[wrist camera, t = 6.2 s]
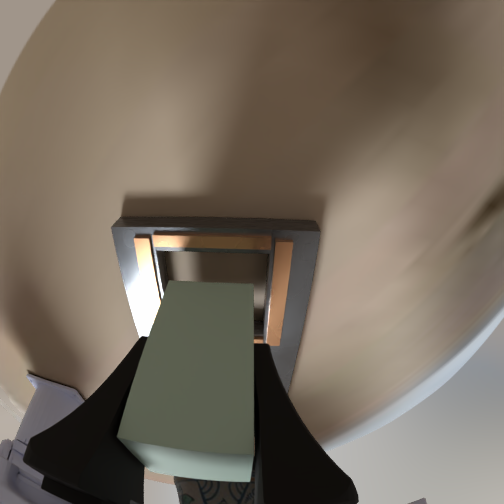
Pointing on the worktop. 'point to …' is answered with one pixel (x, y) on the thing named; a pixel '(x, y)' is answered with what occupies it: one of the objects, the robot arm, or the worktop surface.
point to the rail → (229, 241)
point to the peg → (196, 385)
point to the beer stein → (215, 490)
